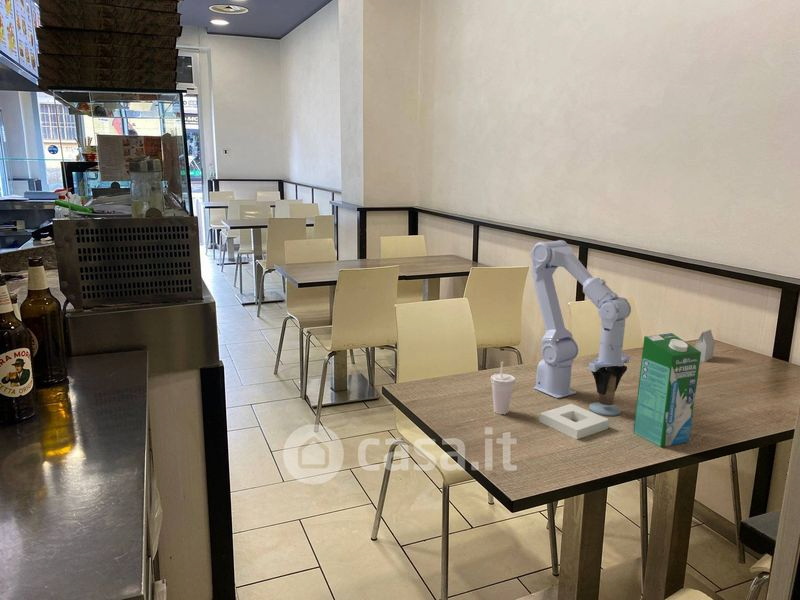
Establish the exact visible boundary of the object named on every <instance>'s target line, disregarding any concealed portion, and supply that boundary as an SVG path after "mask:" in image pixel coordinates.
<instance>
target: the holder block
mask: <svg viewBox="0 0 800 600" xmlns="http://www.w3.org/2000/svg"><path fill="white" fill-rule="evenodd" d="M539 423H541V424H543V425H544V426H547V427H549V428H552V429H553V428H554V430H556V431H558V432H559V433H562V434H564V435H566V436H568V437H570V438H571V439H572V438H573V439H574V440H580V439H581V438H584V437H588V436H590V435H593V434H596V433H600V432H602V431H605V430H608V429H609V425H610V424H609V423H610V419H609V418H607V417H604V416H603V415H599V414H596V413H593V412H592V411H591V410H588V409H585V408H583V407H580V406H578V405H576V404H573V403H569V404H566V405H562V406H559V407H556V408H552V409H549V410H546V411H543V412H539Z"/></svg>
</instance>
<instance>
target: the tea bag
mask: <svg viewBox="0 0 800 600" xmlns="http://www.w3.org/2000/svg"><path fill="white" fill-rule="evenodd" d="M715 343H716V341H715V339H714V336H713V333H712V329H707V330H705V331H702V332H701V334H700V336H699V337H698V339H697V340H696V342H695V346H694V348H696V349H697V350H699V351H700V352H701V357H700V362H701V363H705V362H707V361H709V359H710V360H712V359H713V357H714V356H713V355H714V350H715Z"/></svg>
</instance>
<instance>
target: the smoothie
mask: <svg viewBox="0 0 800 600" xmlns="http://www.w3.org/2000/svg"><path fill="white" fill-rule="evenodd" d="M503 370H504V361H500V371H499V372H500V373H494V374H492V375H491V376H490V382H491V386H492V387H491V389H492V390H491V391H492V401H493V413H495V412H496V413H498V414H497V415H501V414H504V415H507V414H508V413H509V409H510V404H511V399H512V394H513V388H514V384H515V383H516V378H515V377H514V376H513V375H511V374H508V373H504V371H503ZM496 413H495V414H496ZM506 413H507V414H506Z"/></svg>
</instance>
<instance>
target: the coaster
mask: <svg viewBox="0 0 800 600" xmlns="http://www.w3.org/2000/svg"><path fill="white" fill-rule="evenodd" d="M588 409H589V411H590V412H593V413H595V414H597V415H600V416H602V417H604V416H605V417H615V416H618V415H620V414H621V408H620V407H619V406H617V405H615V404H613V405H603V404H600V403H599V402H598V401H597V402H591V403H590V404H589V407H588Z"/></svg>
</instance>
